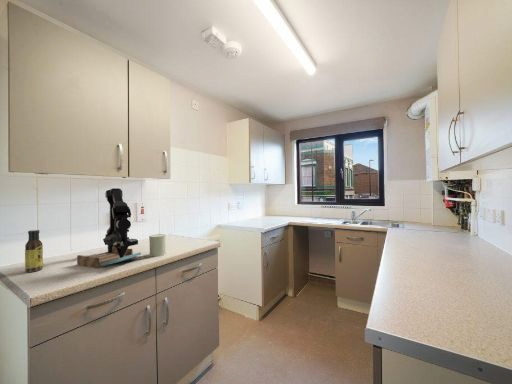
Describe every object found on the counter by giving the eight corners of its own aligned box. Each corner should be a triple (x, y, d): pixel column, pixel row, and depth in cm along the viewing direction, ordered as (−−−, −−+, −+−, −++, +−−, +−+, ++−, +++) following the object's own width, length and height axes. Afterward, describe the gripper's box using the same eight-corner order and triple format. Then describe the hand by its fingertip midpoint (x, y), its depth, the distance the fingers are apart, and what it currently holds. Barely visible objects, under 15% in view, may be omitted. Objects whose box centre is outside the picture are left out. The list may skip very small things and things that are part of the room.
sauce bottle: (41, 271, 112) (40, 230, 112) (23, 273, 108) (22, 231, 108) (44, 267, 117) (43, 228, 117) (27, 270, 114) (26, 230, 114)
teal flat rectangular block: (100, 263, 115) (110, 261, 112) (130, 254, 131) (140, 252, 128) (100, 266, 115) (111, 264, 112) (131, 257, 131) (141, 255, 128)
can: (168, 252, 142) (168, 233, 142) (161, 256, 133) (160, 236, 133) (154, 252, 143) (154, 233, 143) (146, 256, 134) (145, 236, 134)
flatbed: (77, 265, 120) (77, 255, 120) (113, 255, 139) (113, 246, 139) (97, 268, 114) (97, 258, 114) (132, 257, 133) (132, 248, 133)
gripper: (94, 230, 118) (94, 260, 118) (118, 231, 111) (119, 264, 111) (114, 226, 128) (115, 254, 128) (138, 228, 121) (139, 257, 121)
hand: (121, 257), depth 122 cm, fingers closed, pressing on teal flat rectangular block
